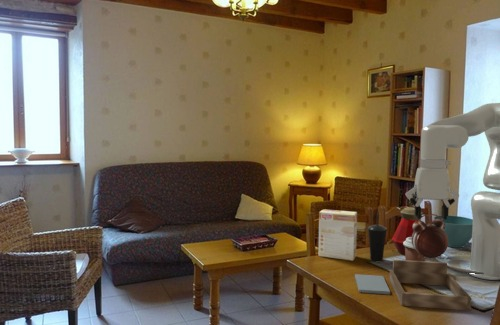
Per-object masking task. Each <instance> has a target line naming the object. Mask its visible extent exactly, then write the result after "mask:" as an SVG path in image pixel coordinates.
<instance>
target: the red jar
mask: <svg viewBox="0 0 500 325" xmlns="http://www.w3.org/2000/svg"><path fill="white" fill-rule="evenodd" d="M399 213H400V216H401V219H400V221H399V224H398V226H397V228H396V230H395V231H394V233H393V236H392V238H391V241H392V242H393V244H394V246H395V249H396V251H397V252H398V253H399V254H400V255H402V256H405V246H404V245H403V242H404V241H405V240H406V238H408V237H412V235H413V233H414V231H413V227H412V226H413V224H414V223H415V220H416V221H418V220H419V219H418V218H417V217H416V216H415V207H411V206H410V207H404V208H403V209H402V210H401V211H399ZM423 215H424V212H423V211H422V210H421V216H423ZM420 221H422V219H421V220H420Z"/></svg>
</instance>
